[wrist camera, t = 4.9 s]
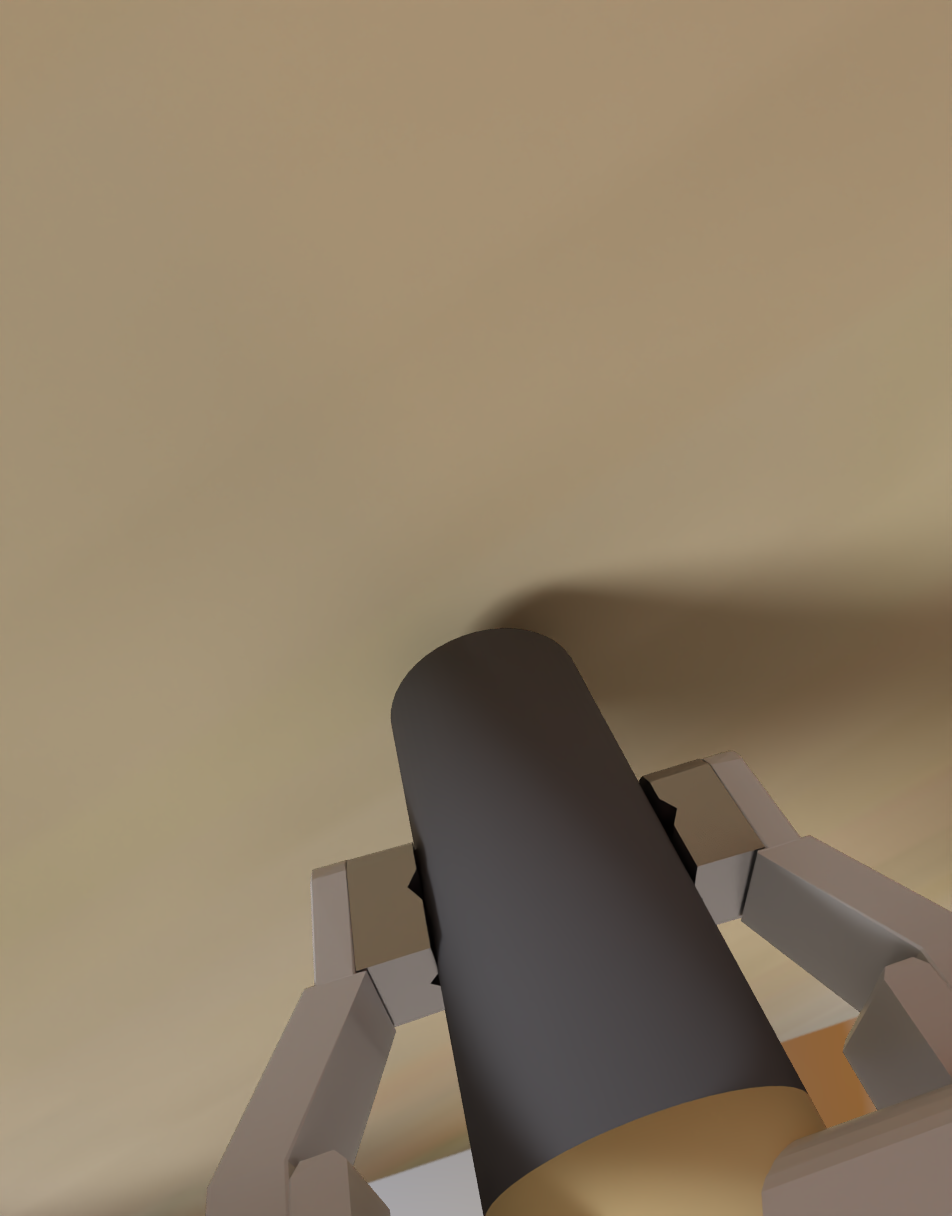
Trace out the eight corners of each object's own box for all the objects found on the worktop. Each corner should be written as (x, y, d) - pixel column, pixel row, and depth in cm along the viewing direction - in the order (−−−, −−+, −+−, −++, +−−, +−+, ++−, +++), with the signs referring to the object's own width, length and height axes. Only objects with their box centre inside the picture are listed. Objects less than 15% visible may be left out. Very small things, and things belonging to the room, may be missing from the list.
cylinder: (514, 785, 14) (705, 1322, 8) (357, 752, 12) (439, 1402, 6) (614, 660, 13) (950, 1199, 6) (451, 603, 11) (686, 1259, 5)
